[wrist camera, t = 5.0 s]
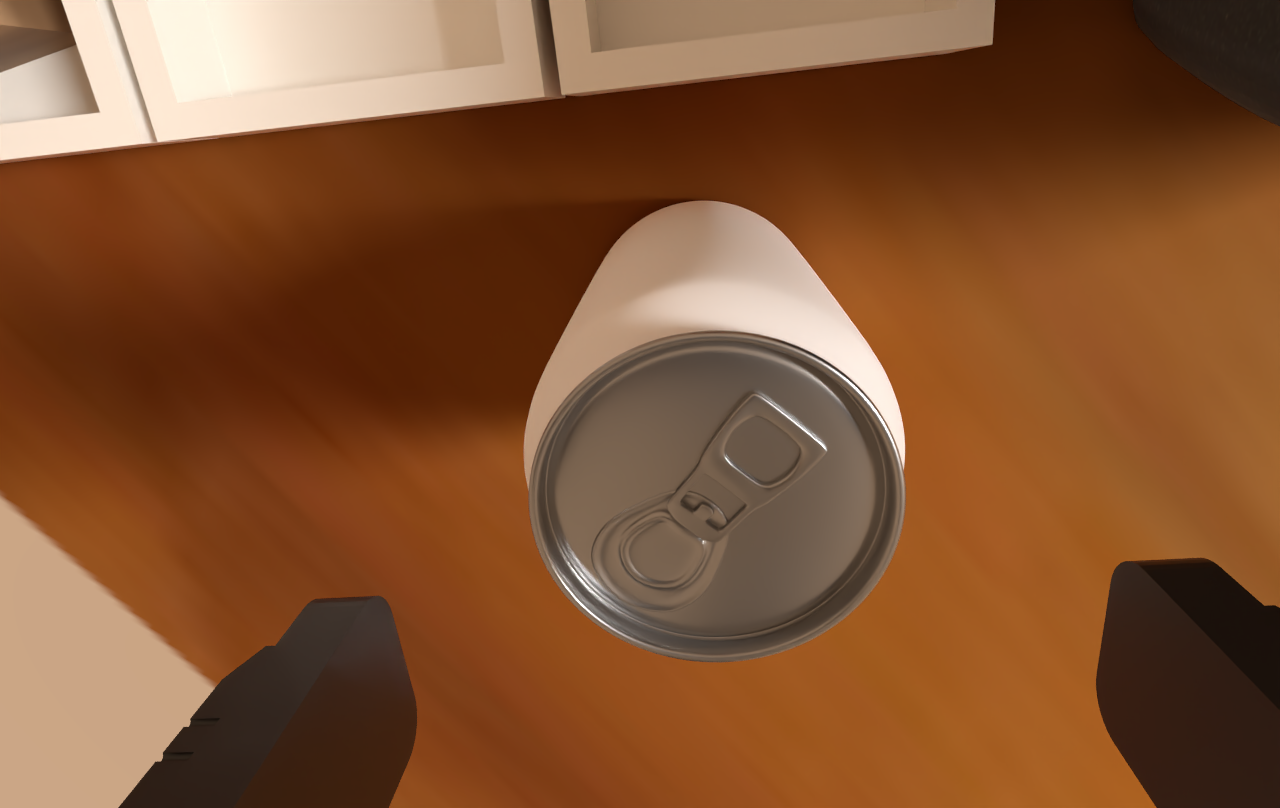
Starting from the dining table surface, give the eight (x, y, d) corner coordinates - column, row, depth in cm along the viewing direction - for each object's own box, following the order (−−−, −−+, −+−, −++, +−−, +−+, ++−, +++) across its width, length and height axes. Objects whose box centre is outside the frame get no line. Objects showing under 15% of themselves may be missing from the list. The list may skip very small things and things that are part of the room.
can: (550, 324, 23) (418, 535, 12) (686, 148, 21) (684, 199, 10) (713, 448, 24) (735, 747, 13) (857, 293, 22) (1033, 490, 11)
